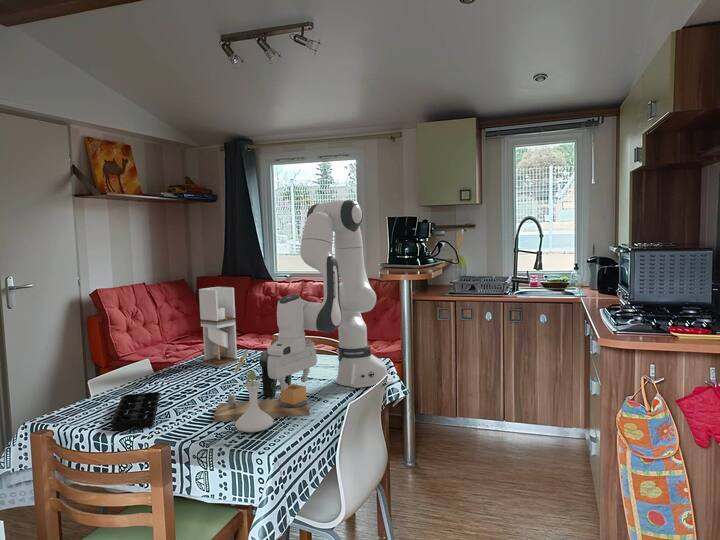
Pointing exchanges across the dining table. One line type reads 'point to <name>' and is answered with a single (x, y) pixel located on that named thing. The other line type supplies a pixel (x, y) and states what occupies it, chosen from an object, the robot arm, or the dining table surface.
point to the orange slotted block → (293, 394)
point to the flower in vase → (252, 405)
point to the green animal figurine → (269, 383)
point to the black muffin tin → (135, 411)
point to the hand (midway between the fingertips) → (294, 385)
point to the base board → (270, 407)
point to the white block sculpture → (218, 326)
